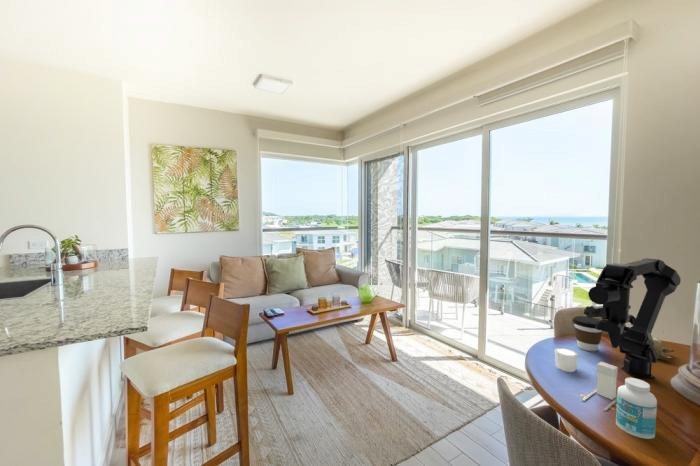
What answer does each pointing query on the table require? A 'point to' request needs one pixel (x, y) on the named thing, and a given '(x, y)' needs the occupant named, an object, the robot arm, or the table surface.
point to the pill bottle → (636, 409)
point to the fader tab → (606, 380)
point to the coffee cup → (587, 333)
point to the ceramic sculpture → (661, 350)
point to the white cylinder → (566, 359)
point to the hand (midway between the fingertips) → (614, 347)
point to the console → (606, 406)
